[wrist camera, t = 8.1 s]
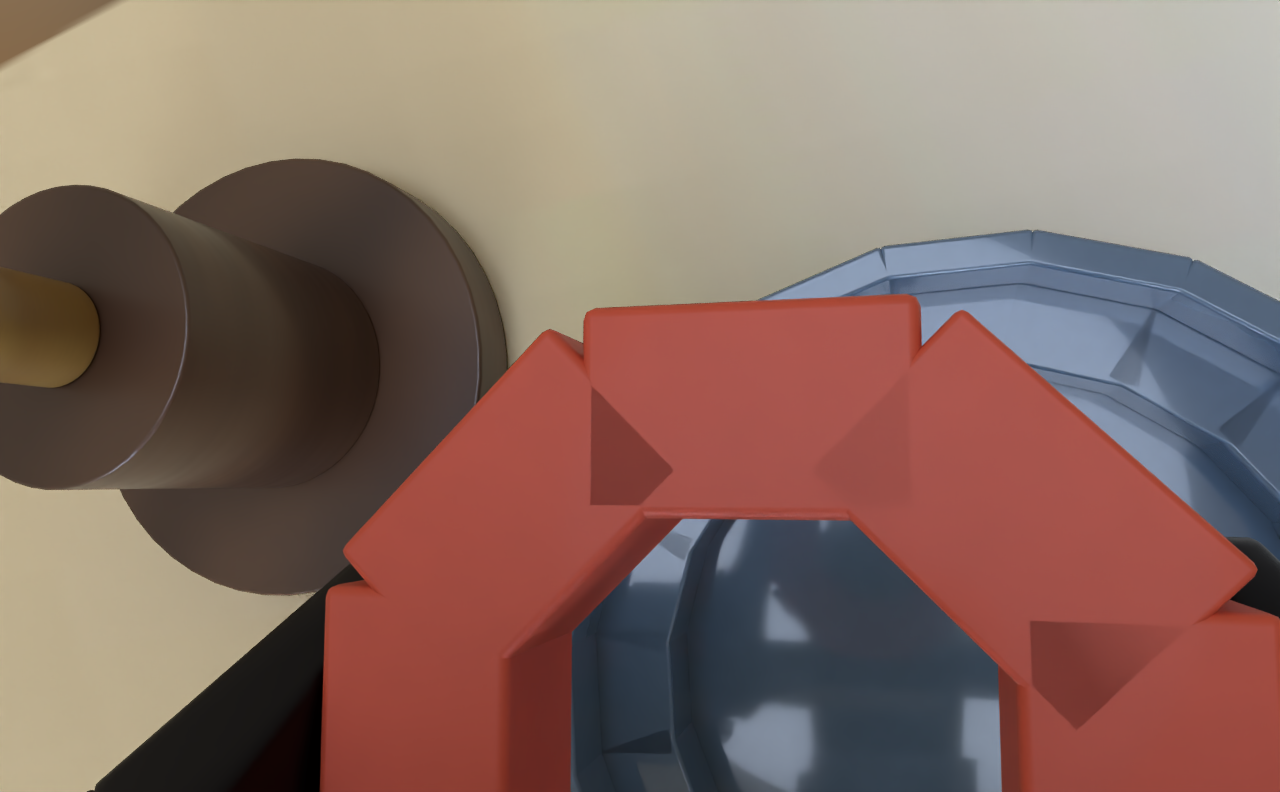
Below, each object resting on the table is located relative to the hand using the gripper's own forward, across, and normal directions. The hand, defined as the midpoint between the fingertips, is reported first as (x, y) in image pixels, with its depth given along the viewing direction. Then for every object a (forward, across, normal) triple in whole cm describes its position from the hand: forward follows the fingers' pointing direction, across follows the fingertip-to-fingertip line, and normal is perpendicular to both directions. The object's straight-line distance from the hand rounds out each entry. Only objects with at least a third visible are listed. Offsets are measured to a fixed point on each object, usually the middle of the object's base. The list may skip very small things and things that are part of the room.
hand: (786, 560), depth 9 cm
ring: (-1, 0, +1) cm, 2 cm away
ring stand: (+11, +13, +6) cm, 18 cm away
